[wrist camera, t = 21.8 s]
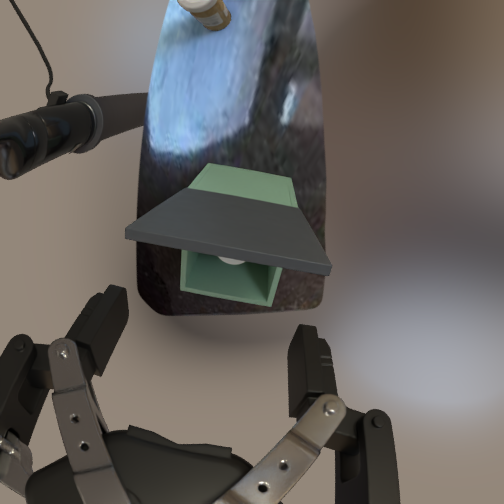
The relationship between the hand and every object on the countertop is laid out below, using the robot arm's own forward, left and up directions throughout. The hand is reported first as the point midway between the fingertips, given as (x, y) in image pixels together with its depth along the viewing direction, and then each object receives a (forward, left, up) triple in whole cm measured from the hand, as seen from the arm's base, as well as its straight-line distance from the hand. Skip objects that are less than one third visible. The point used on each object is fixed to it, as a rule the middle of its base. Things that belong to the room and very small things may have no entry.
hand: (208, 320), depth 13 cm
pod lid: (+1, -2, -14) cm, 14 cm away
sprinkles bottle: (-17, +15, -36) cm, 43 cm away
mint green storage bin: (+5, -10, -36) cm, 38 cm away
